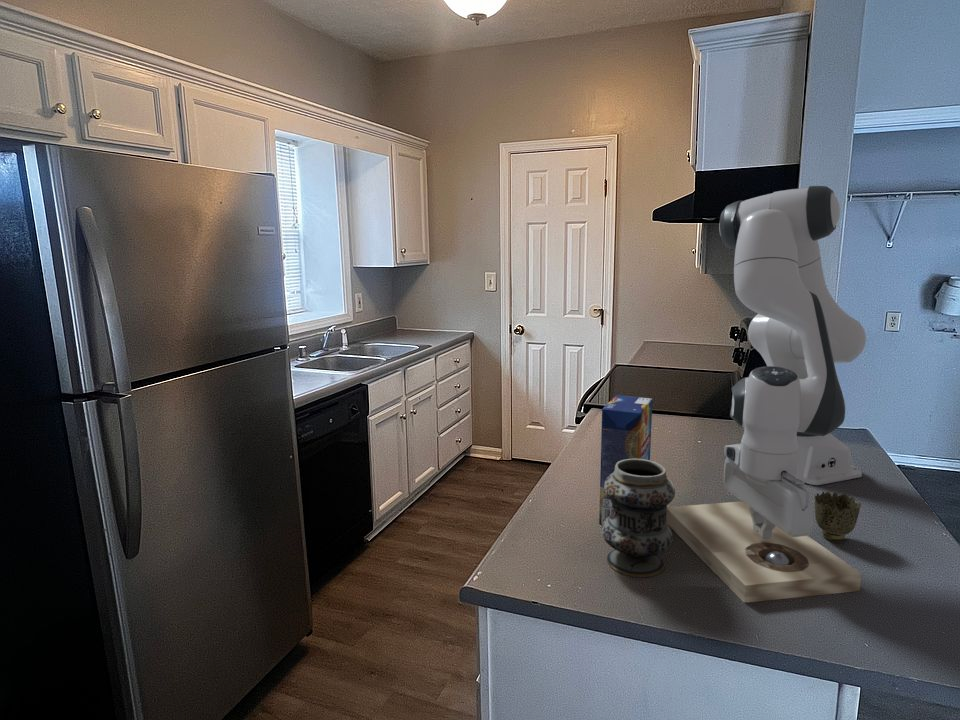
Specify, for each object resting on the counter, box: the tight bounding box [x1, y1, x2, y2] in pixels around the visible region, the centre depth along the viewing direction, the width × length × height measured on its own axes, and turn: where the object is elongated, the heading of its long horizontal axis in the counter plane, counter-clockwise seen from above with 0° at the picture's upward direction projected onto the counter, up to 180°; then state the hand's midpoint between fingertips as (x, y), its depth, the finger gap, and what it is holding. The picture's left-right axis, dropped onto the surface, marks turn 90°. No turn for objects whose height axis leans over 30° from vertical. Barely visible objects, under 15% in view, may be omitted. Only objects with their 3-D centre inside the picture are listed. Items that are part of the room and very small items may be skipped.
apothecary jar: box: [601, 459, 676, 578], centre depth 102 cm, size 12×12×18 cm
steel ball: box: [764, 551, 791, 566], centre depth 99 cm, size 4×4×4 cm
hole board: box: [666, 500, 863, 604], centre depth 106 cm, size 20×28×3 cm
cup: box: [814, 491, 862, 543], centre depth 110 cm, size 8×7×8 cm
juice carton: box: [598, 394, 653, 525], centre depth 120 cm, size 12×8×24 cm, turn 154°
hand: (761, 535), depth 104 cm, fingers closed
